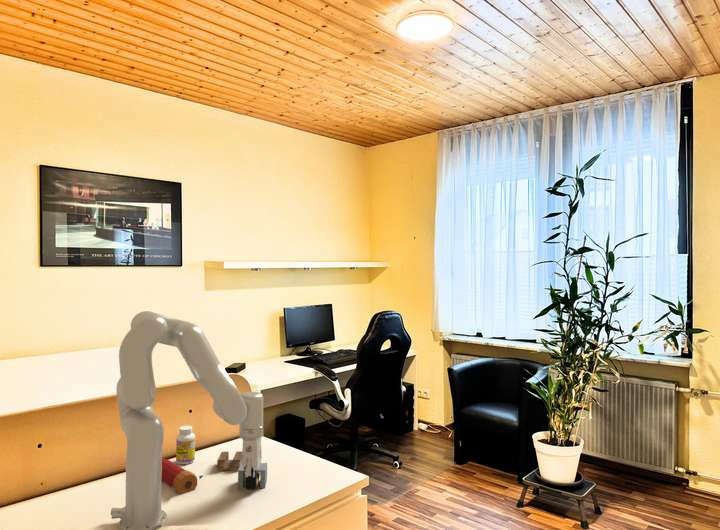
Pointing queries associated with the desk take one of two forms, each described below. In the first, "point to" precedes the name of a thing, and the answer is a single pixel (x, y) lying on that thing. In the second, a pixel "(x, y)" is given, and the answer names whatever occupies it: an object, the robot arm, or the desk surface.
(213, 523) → the desk surface
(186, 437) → the supplement bottle
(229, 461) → the v block
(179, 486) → the shell casing
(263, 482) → the grey hollow block
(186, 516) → the desk surface
